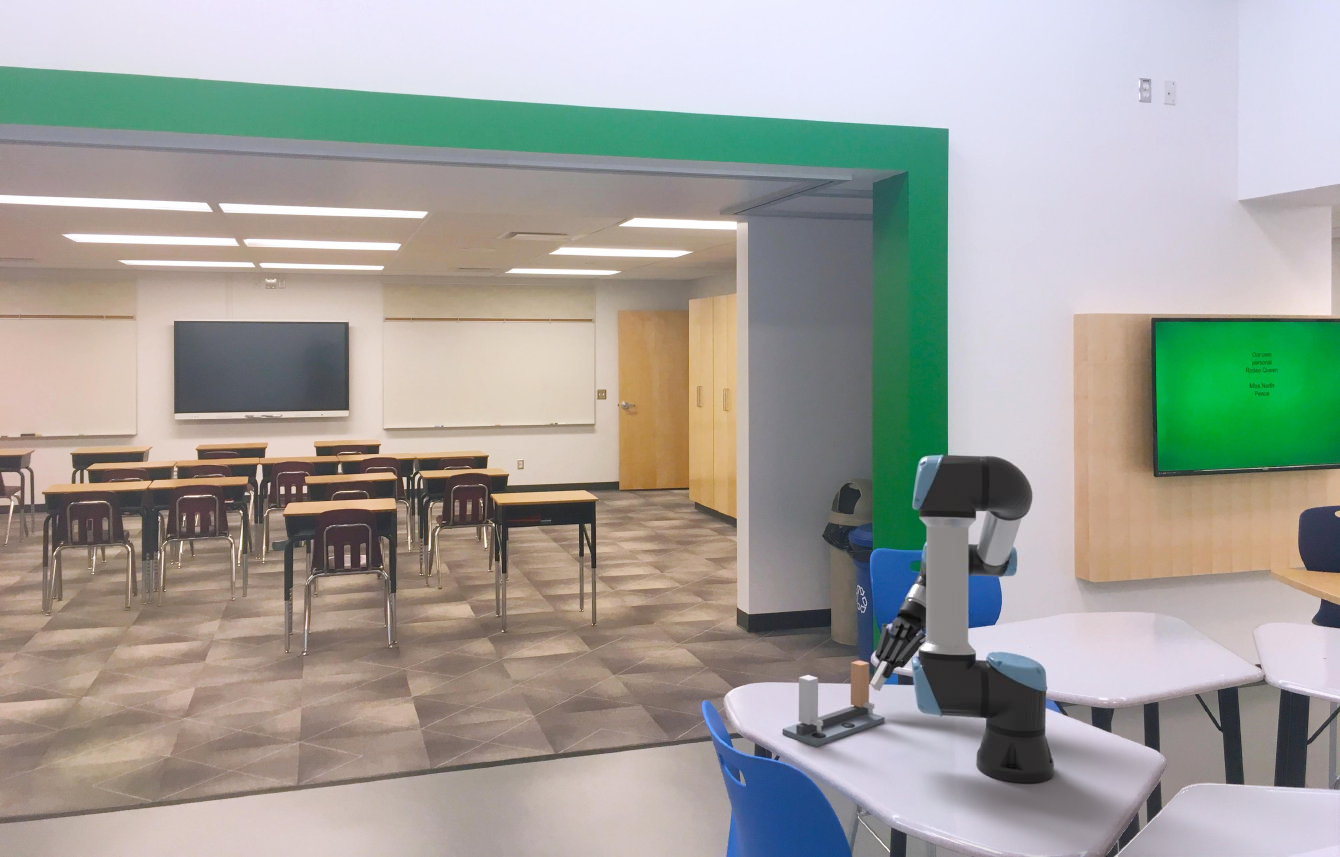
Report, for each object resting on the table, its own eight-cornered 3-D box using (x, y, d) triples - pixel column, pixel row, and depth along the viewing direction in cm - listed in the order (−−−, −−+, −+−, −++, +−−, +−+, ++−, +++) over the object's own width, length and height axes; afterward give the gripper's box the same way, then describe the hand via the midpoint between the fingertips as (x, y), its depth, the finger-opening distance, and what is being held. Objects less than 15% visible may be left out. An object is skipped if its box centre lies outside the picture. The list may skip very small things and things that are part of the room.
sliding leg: (858, 707, 239) (859, 660, 239) (876, 713, 235) (877, 665, 235) (850, 710, 237) (851, 662, 237) (868, 715, 233) (869, 667, 233)
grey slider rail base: (851, 710, 243) (851, 655, 242) (884, 721, 235) (885, 665, 235) (782, 733, 228) (783, 674, 227) (816, 746, 220) (816, 685, 219)
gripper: (946, 621, 247) (903, 702, 238) (902, 611, 257) (860, 689, 248) (934, 603, 244) (890, 684, 234) (890, 594, 254) (846, 672, 244)
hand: (874, 686), depth 241 cm, fingers closed
